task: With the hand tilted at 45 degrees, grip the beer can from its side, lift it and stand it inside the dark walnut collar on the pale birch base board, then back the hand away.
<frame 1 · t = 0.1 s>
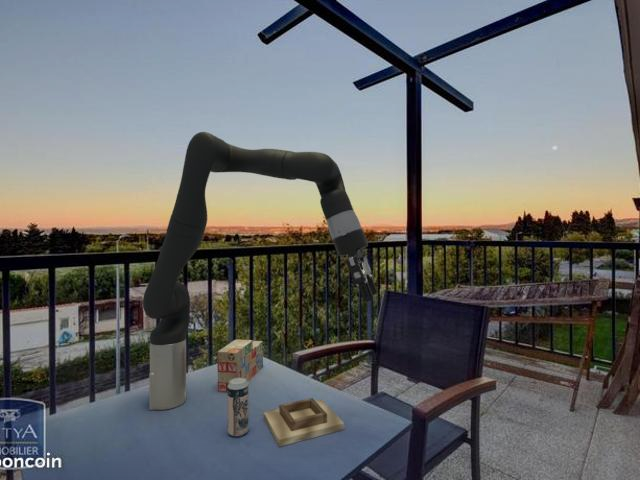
hand: (371, 297, 78), 31 cm above the table, tool tilted 20°, fingers open, 8 cm apart
base board: (302, 423, 82), on the table
stack of blocks: (242, 379, 109), on the table
beer can: (238, 432, 78), on the table
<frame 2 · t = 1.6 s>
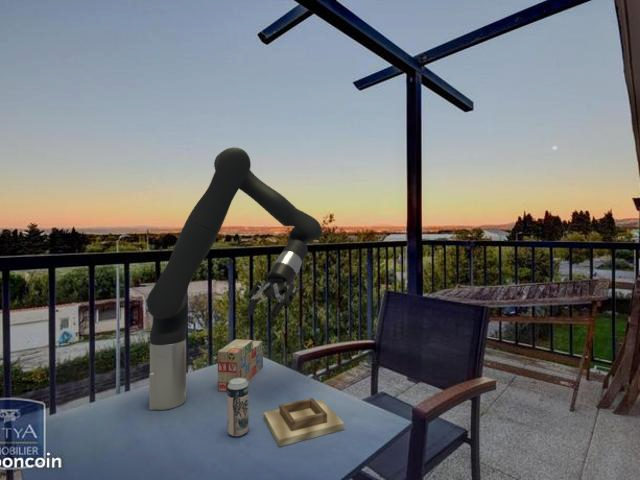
hand: (260, 315, 91), 25 cm above the table, tool tilted 45°, fingers open, 8 cm apart
nothing on the table moved.
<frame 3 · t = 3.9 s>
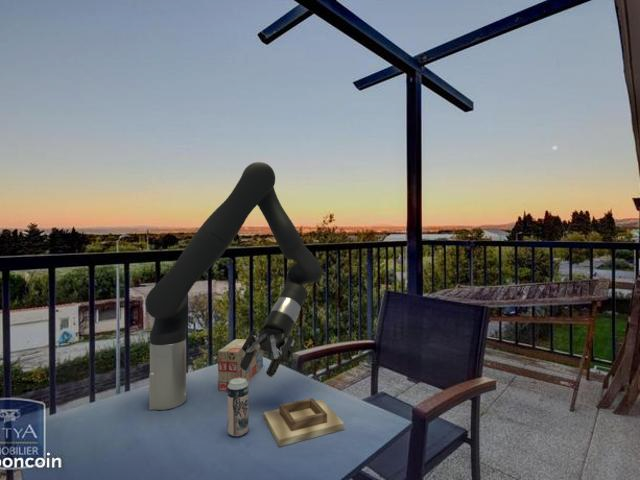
hand: (255, 372, 84), 12 cm above the table, tool tilted 45°, fingers open, 8 cm apart
nothing on the table moved.
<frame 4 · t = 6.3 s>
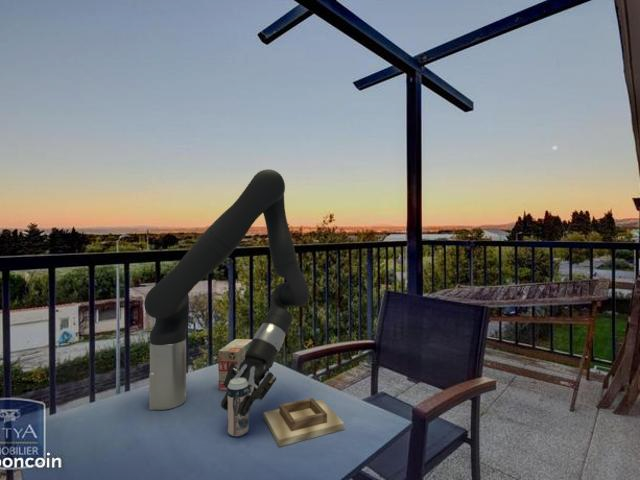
hand: (232, 411, 77), 6 cm above the table, tool tilted 45°, fingers closed on beer can, 4 cm apart
beer can: (238, 432, 78), on the table, touching gripper
everything else where it was.
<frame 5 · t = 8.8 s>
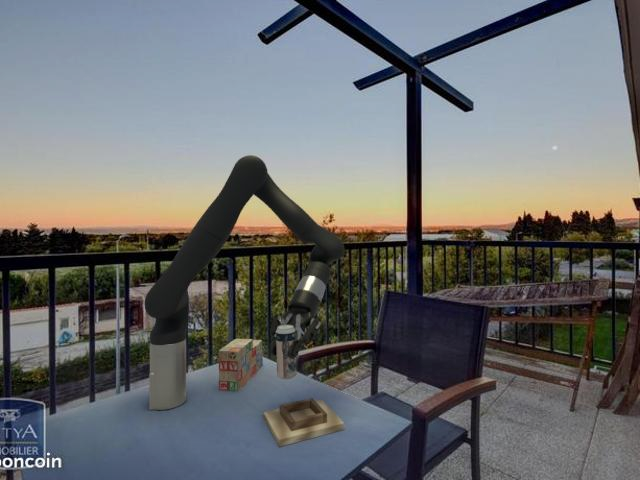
hand: (281, 355, 79), 18 cm above the table, tool tilted 45°, fingers closed on beer can, 4 cm apart
beer can: (287, 377, 81), point 12 cm above the table, touching gripper
when the fingers open (8 cm above the table, at t = 11.2 s): beer can drops 1 cm, resting on base board.
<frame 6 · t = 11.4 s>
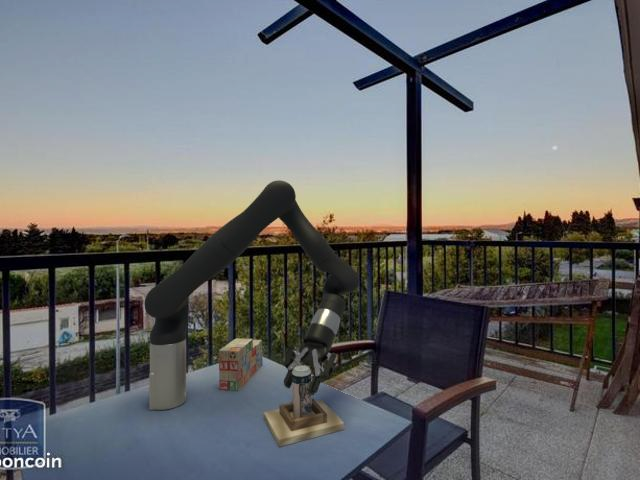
hand: (298, 389, 80), 9 cm above the table, tool tilted 45°, fingers open, 6 cm apart
beer can: (302, 417, 82), point 1 cm above the table, touching base board
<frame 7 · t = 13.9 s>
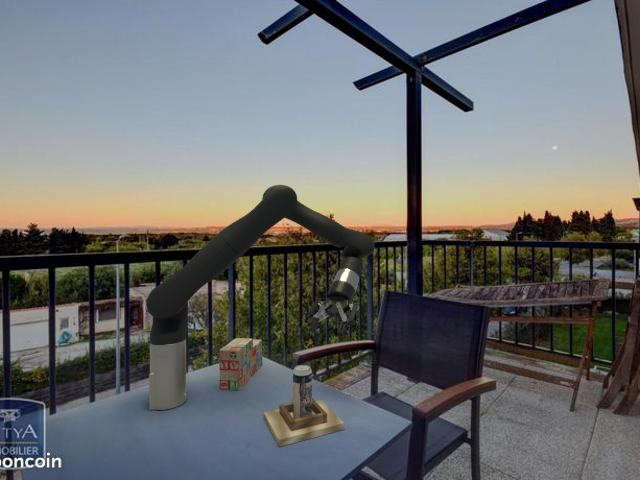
hand: (325, 334, 92), 19 cm above the table, tool tilted 45°, fingers open, 8 cm apart
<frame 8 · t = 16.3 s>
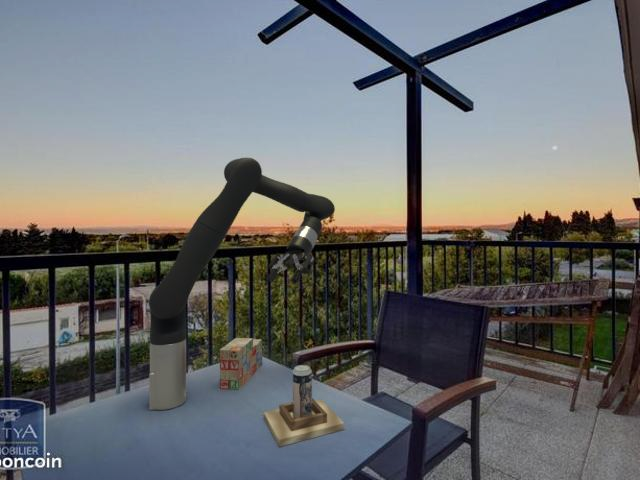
hand: (281, 281, 100), 33 cm above the table, tool tilted 45°, fingers open, 8 cm apart
at the end: beer can 0.2 cm off-centre on the base board, point 1.3 cm above the base board's base; beer can tilted 0°; the gripper is holding nothing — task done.
